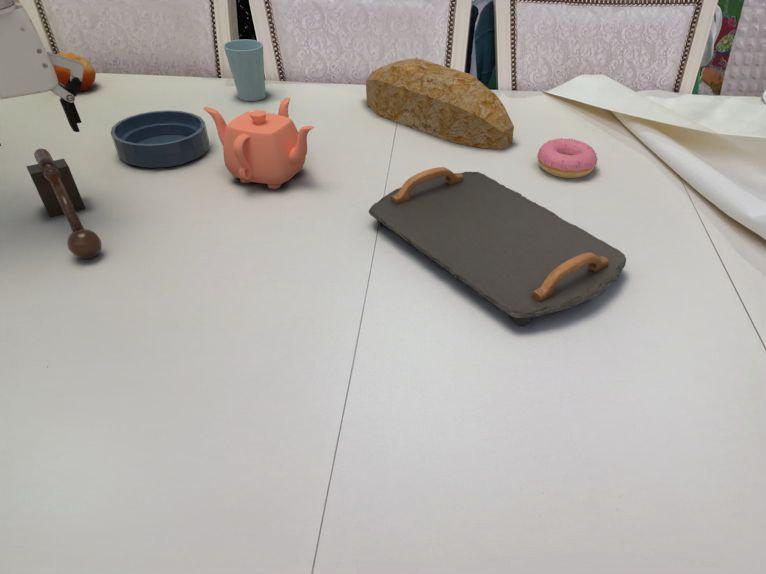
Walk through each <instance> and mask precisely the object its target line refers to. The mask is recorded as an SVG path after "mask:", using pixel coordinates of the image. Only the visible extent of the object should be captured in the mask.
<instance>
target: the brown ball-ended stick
mask: <svg viewBox="0 0 766 574" xmlns="http://www.w3.org/2000/svg"><path fill="white" fill-rule="evenodd" d="M33 155H34V159H35V160H36V164H38V165H39V167H40V169H41V171H42V173H43V175H44V177H45V178H46V179H47V180H48V181H49V182H50V184H51V186H52V188H53V190H54V193H55V195H56V197H57V199H58V201H59V203H60V205H61V208H62V210H63V212H64V214H63V215H64V216H65V219H66V220H67V222H68V225H69V227H70V229H71V231H72V232H71V233H70V234H69V235H68V237H67V243H66V244H67V248H68V250H69V251H70V253H71V254H72V255H74V256H75V257H77V258H79V259H86V260H87V259H92V258H95V257H96V256H98V255H99V253H100V252H101V250H102V245H103V244H102V239H101V238H100V237H99V235H98V234H97V233H95V232H94V231H92V230H90V229H87V228H84V226H83V223H82V222H81V220H80V218H79V215H78V213H77V211H75V209H74V207H73V205H72V202H71V200H70V198H69V196H68V194H67V192H66V190H65V188H64V185H63V183H62V181H61V179H60V177H61V174H60V172H59V170H58V168H57V166H56V164H55V162H54V159H53V156H52V155H51V153H50V152H49V151H48V150H47V149H44V148H37V149H36V150H35V151H34V153H33Z"/></svg>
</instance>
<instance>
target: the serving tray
mask: <svg viewBox="0 0 766 574" xmlns="http://www.w3.org/2000/svg"><path fill="white" fill-rule="evenodd" d="M368 214H369V215H370V216H371V217H372V218H374V219H375V221H376V222H377V224H378V225H379V226H385V227H386V228H387V229H389V230H390V231H392V232H394V233H395V234H396V235H398V236H399V237H400V238H401V239H403V240H404V241H406V242H408V243H409V244H410V245H411V246H413V247H414V248H416V249H417V250H418V251H419V252H421V253H423V254H424V255H425V256H427V257H428V258H429V259H431V261H434V262H435V263H437V264H438V265H439V266H440V267H441V268H442V269H444V270H446V271H447V272H449V273H450V274H451V275H452V276H454V277H455V278H457V279H458V280H459V281H461V282H462V283H463V284H465V285H466V286H468V287H469V288H471V289H472V290H473V291H475V292H476V293H477V294H478V295H480V296H481V297H483V298H485V299H486V300H488V301H489V302H490V303H492V305H494V306H496V307H497V308H499V309H500V310H501V311H502V312H504V313H505V314H507V315H508V316H510V317H512V318H513V321H514V322H515V324H516V326H518V327H525V326H526V325H527V324H529V322H530V321H531V318H535V317H542V316H544V315H547V314H554V313H558V312H562V311H565V310H568V309H569V308H572V307H574V306H576V305H579V304H582V303H585V302H587V301H590V300H592V299H594V298H596V297H597V296H599V294H601V293H603V292H604V291H606V289H607V288H608V287H609V286H610V285H611V284H613V283H614V282H616V281H617V279H618V278H619V277H620V274H621V273H622V272H623V269H624V268H625V267H626V263H627V257H626V254H624V252H622V251H621V250H619V249H618V248H616V247H614V246H612V245H610V244H609V243H607V242H605V241H604V240H601V239H599V238H598V237H596V236H594V235H592V234H591V233H589V232H588V231H586V229H583V228H581V227H579V226H578V225H576V224H573V223H571V222H569V221H566V220H565V219H564V218H561V217H560V216H558V215H557V214H556V213H554V212H553V211H551V210H549V209H548V208H546V207H544V206H542V205H540V204H538V203H536V202H534V201H532V200H531V199H528V197H526V196H523V194H521V193H519V192H517V191H515V190H513V189H511V188H509V187H507V186H505V185H504V184H501V183H500V182H498V181H497V180H495V179H493V178H491V177H489V176H487V175H486V174H484V173H481V172H480V171H464V172H463V171H462V172H456V173H454V172H453V171H451V170H450V169H449V168H448V167H444V166H439V167H438V166H437V167H433V168H429V169H425V170H423V171H421V172H418V173H416V174H414V175H413V176H411V177H409V178H408V179H407V180H406V181H404V183H403V184H402V185H401V187H398V188H395V189H394V190H392V191H391V192H389V193H388V194H386V195H384V196H383V197H382V198H380V200H378V201H377V202H375V203H373V204H372V205H371V206H370V208H369V210H368Z"/></svg>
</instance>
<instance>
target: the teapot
mask: <svg viewBox="0 0 766 574" xmlns="http://www.w3.org/2000/svg"><path fill="white" fill-rule="evenodd" d="M290 101H291V98H290V97H285V98H283V99H282V100H281V101H280V104H279V107H278V112H277V114H276V113H271V112H266V111H264V110H261V109H257V110H252V111H246V112H244V113H242V114H240V115H238V116H237V117H235V118H234V119H232V120H231V121H229V122H228V123H227V122H226V121H225V118H224V117H223V115H222V114H221V113H220V112H219V111H218V110H216V109H215V108H213V107H209V106H203V110H204V111H205V112H207V113H208V114H209V115H210V117H211V118H212V120H213V121H214V124H215V127H216V130H217V135H218V139H219V141H220V143H221V144H222V151H223V152H222V153H223V161H224V165H225V168H226V169H227V170H228V172H229V173H230V174H231V175H232V176H233V177H236V178H238V179H239V181H240V183H243V184H245V183H246V184H247V183H252V182H253V183H256V184H257V183H258V184H267V187H268V188H269V189H279V188H281V187H282V184H284V183H286V182H288V181H289V180H291V179H292V178H293V177H294V176H295V175H297V174H298V173H300V171H301V170H302V169H303V167H304V164H305V162H306V156H307V154H308V134H309V132H310V131H312V130H313V129H314V128H315V126H313V125H306V126H305V125H304V126H301V127H300V128H299V130H298V129H297V127H296V125H295V122H294V121H293V119H292V118H290V116H289V104H290Z"/></svg>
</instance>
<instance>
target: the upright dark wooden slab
mask: <svg viewBox="0 0 766 574" xmlns="http://www.w3.org/2000/svg"><path fill="white" fill-rule="evenodd" d="M53 160H54V159H53ZM54 162H55V164H56V166H57V168H58V170H59V172H60V174H61V177H60V179H61V181H62V183H63V185H64V188H65V190H66V192H67V194H68V196H69V198H70V200H71V202H72V205H73V207H74V209H75V211H76V212H77V211H81V210H86V206H85V203H84V200H83V199H82V196H81V193H80V191H79V188H78V186H77V184H76V180H75V179H74V176H73V174H72V171H71V169H70V167H69V165H68V163H67V161H66V159H65V158H60V159H55V160H54ZM25 167H26V168H27V171H28V174H29V176H30V178H31V180H32V182H33V185H34V187H35V189H36V191H37V193H38V195H39V198H40V199H41V202H42V204H43V206H44V208H45V211H46V213H47V215H48V217H49V218H51V217H56V216H60V215H65V214H64V212H63V210H62V208H61V205H60V203H59V201H58V199H57V197H56V195H55V193H54V190H53V188H52V186H51V184H50V182H49V181H48V180H47V179H46V178H45V177H44V175H43V173H42V171H41V169H40V167H39V165H38V163H34V164H30V165H26V166H25Z"/></svg>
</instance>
